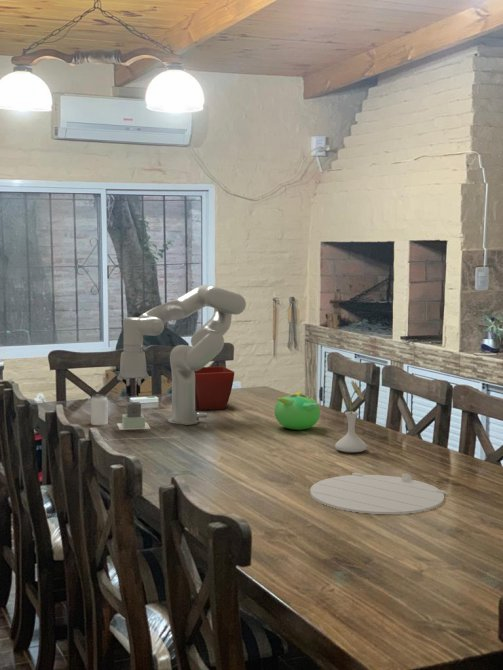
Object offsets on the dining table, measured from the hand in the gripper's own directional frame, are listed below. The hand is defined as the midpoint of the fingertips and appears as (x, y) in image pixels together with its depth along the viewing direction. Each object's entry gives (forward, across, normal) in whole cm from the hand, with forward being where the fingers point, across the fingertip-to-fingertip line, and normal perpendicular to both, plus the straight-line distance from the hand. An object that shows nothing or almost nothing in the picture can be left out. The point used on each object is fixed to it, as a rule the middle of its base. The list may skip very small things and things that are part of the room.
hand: (133, 395), depth 355 cm
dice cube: (+9, 0, 0) cm, 9 cm away
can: (+13, +13, -7) cm, 20 cm away
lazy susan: (+14, -61, +106) cm, 123 cm away
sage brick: (+12, 0, 0) cm, 12 cm away
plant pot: (+13, -37, -38) cm, 55 cm away
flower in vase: (+13, -72, +52) cm, 90 cm away
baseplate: (+13, 0, 0) cm, 13 cm away
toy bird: (+13, -63, +14) cm, 66 cm away
